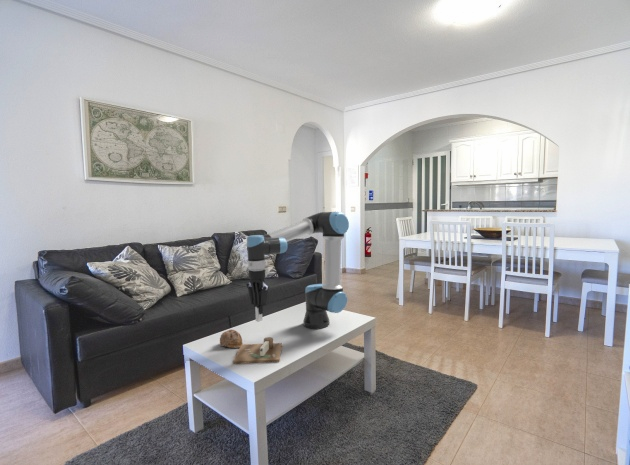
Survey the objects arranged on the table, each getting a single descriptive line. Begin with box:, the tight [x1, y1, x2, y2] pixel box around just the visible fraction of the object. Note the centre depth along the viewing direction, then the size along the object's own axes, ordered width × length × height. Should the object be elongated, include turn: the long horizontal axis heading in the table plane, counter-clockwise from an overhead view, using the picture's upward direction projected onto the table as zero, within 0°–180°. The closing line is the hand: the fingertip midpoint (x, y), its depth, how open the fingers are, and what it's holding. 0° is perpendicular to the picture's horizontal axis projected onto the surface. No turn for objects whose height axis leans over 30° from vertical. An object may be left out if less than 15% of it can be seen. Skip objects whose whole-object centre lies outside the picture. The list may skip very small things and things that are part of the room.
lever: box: [260, 336, 274, 356], centre depth 152 cm, size 13×4×4 cm, turn 171°
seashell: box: [219, 329, 244, 348], centre depth 165 cm, size 10×9×10 cm
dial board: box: [232, 342, 283, 365], centre depth 153 cm, size 20×18×1 cm
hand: (259, 320), depth 150 cm, fingers closed
